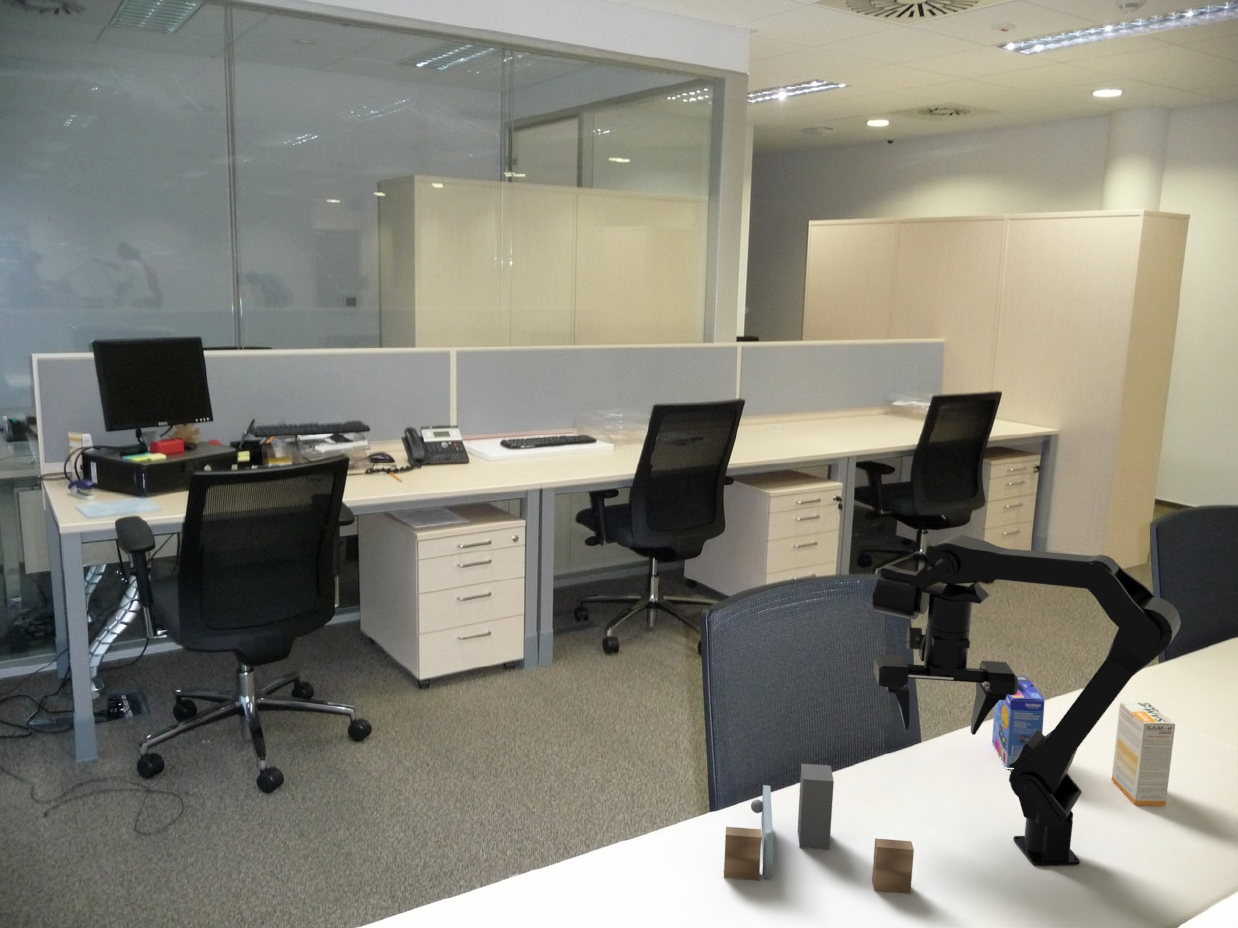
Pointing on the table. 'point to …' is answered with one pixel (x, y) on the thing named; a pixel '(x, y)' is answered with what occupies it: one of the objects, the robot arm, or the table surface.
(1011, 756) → the ink cartridge box
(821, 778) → the tall gray pillar
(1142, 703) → the supplement box
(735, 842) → the wooden blocks
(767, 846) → the door
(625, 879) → the table surface
